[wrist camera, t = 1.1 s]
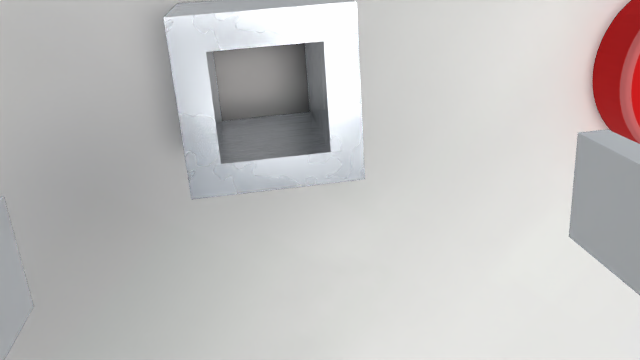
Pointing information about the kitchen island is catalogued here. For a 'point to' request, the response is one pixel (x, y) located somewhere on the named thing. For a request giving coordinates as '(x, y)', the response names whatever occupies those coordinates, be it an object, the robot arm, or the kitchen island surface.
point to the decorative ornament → (620, 74)
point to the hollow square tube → (270, 131)
